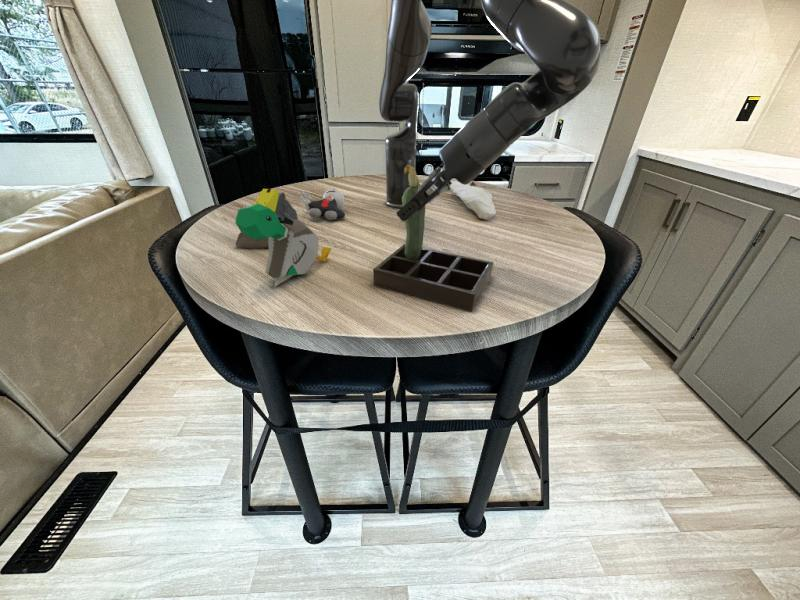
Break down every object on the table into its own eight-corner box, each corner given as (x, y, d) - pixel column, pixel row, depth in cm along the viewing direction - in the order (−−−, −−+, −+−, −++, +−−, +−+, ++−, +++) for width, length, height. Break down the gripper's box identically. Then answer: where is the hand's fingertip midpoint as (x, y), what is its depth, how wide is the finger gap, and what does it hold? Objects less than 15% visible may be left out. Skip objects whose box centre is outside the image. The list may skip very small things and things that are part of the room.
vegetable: (425, 262, 69) (430, 163, 58) (418, 271, 66) (421, 168, 55) (407, 259, 71) (408, 161, 60) (398, 267, 68) (398, 166, 57)
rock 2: (446, 193, 118) (461, 219, 92) (449, 178, 115) (465, 200, 89) (484, 198, 119) (509, 224, 93) (488, 183, 116) (515, 206, 90)
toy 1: (336, 223, 71) (269, 180, 53) (320, 297, 70) (246, 279, 52) (313, 221, 74) (242, 180, 56) (297, 292, 73) (219, 274, 55)
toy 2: (286, 202, 89) (304, 182, 101) (291, 224, 93) (307, 203, 105) (341, 206, 88) (352, 186, 100) (343, 228, 93) (354, 206, 104)
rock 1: (218, 223, 73) (277, 203, 71) (236, 206, 82) (289, 187, 79) (247, 264, 79) (301, 246, 77) (261, 244, 88) (310, 227, 86)
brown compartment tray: (403, 258, 73) (404, 243, 71) (490, 277, 65) (493, 262, 64) (373, 285, 63) (372, 269, 61) (472, 311, 55) (474, 294, 54)
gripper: (465, 126, 58) (401, 189, 68) (453, 135, 47) (377, 209, 56) (490, 159, 60) (424, 216, 69) (484, 175, 48) (406, 241, 58)
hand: (404, 213), depth 63 cm, fingers closed on vegetable, 4 cm apart
